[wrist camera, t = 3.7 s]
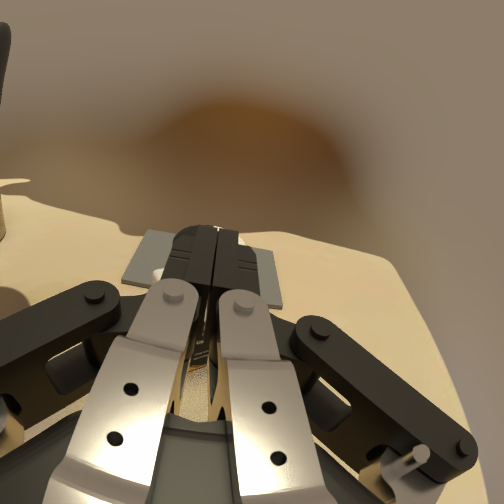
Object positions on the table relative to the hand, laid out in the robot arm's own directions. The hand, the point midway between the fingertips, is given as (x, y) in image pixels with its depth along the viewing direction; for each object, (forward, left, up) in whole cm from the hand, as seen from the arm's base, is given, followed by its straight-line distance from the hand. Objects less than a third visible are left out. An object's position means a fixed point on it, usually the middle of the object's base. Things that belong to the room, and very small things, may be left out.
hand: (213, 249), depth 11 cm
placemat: (0, +23, -17) cm, 29 cm away
